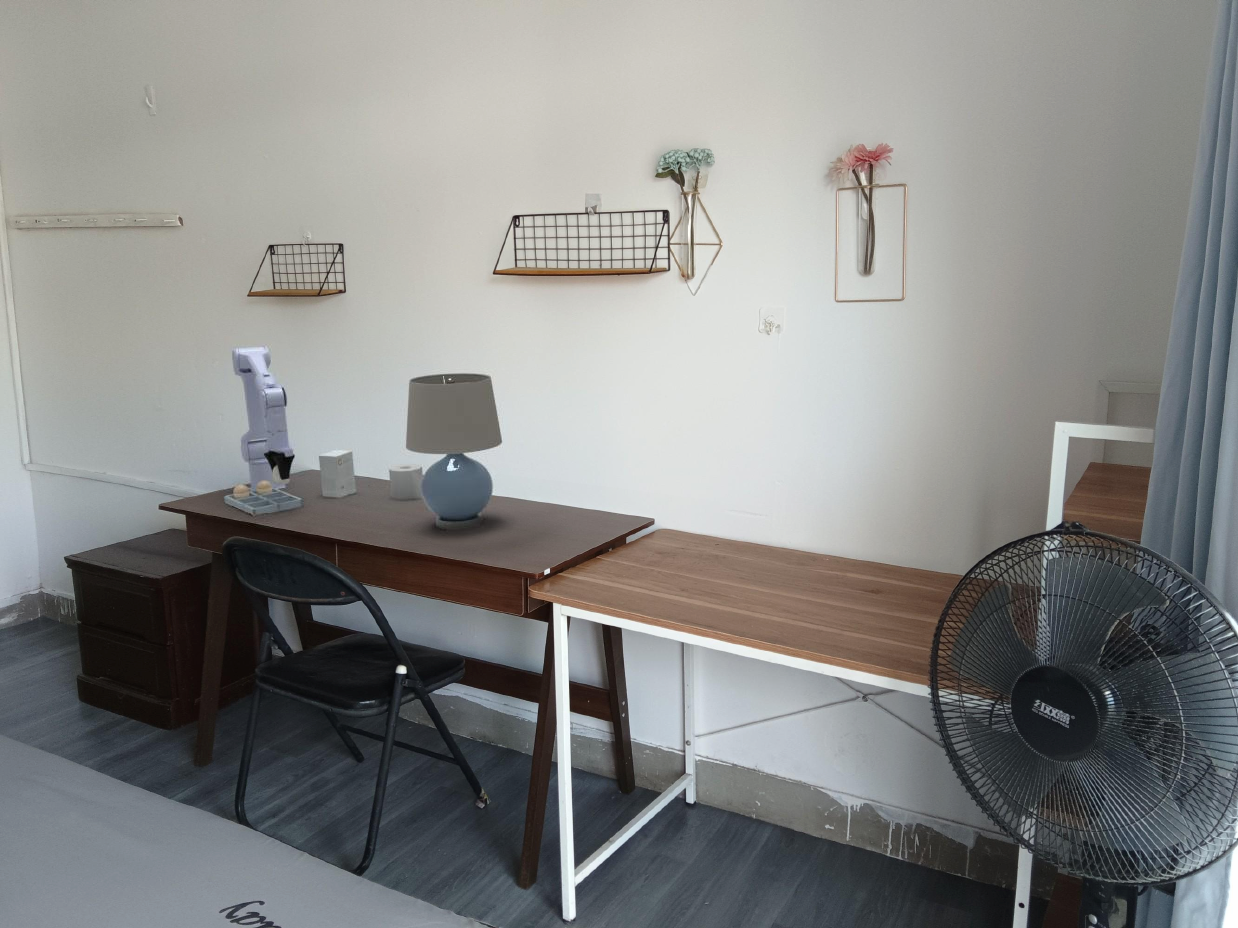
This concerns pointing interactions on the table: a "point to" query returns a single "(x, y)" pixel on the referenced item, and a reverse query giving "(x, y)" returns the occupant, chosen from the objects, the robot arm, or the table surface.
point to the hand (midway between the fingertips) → (281, 477)
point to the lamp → (454, 443)
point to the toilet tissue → (406, 481)
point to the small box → (337, 473)
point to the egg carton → (265, 502)
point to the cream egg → (278, 477)
